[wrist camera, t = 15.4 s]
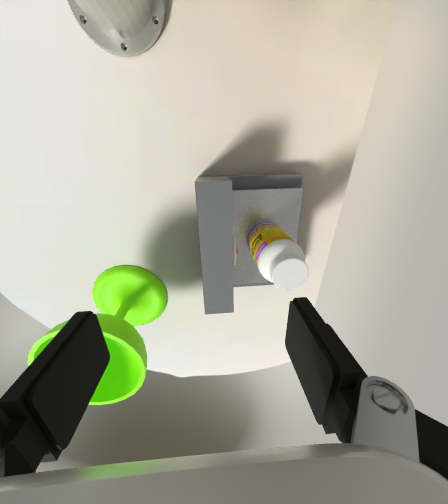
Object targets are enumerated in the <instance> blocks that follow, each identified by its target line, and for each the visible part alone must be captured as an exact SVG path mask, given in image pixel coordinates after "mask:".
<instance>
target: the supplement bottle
mask: <svg viewBox="0 0 448 504" xmlns="http://www.w3.org/2000/svg"><path fill="white" fill-rule="evenodd" d="M248 246H249V249H250V251H251V254H252V256H253V258H254V260H255V262H256V264H257V267H258V269H259V271H260V273H261V274H262V276H263V277H264V278H265V279H267V280H268V281H270V282H273V283H274V284H275V286H276V287H278V288H279V289H281V290H294V289H296V288H298V287H300V286H301V285H303V284H304V282H305V281H306V279H307V277H308V272H309V271H308V267H307V265H306V263H305V255H304V252H303V250H302V249H301V247H300V246H299V245H298V244H297V243H296V242H295V241H294V240H292V239H291V238H290V237H289V236H288V235H287V234H286V233H285V232H284V231H283V230H282V229H281V228H280V227H279V226H277V225H275V224H272V223H263V224H260V225H258V226H256V227H255V228H254V229H253V230H252V231H251V233H250V235H249V237H248Z"/></svg>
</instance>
